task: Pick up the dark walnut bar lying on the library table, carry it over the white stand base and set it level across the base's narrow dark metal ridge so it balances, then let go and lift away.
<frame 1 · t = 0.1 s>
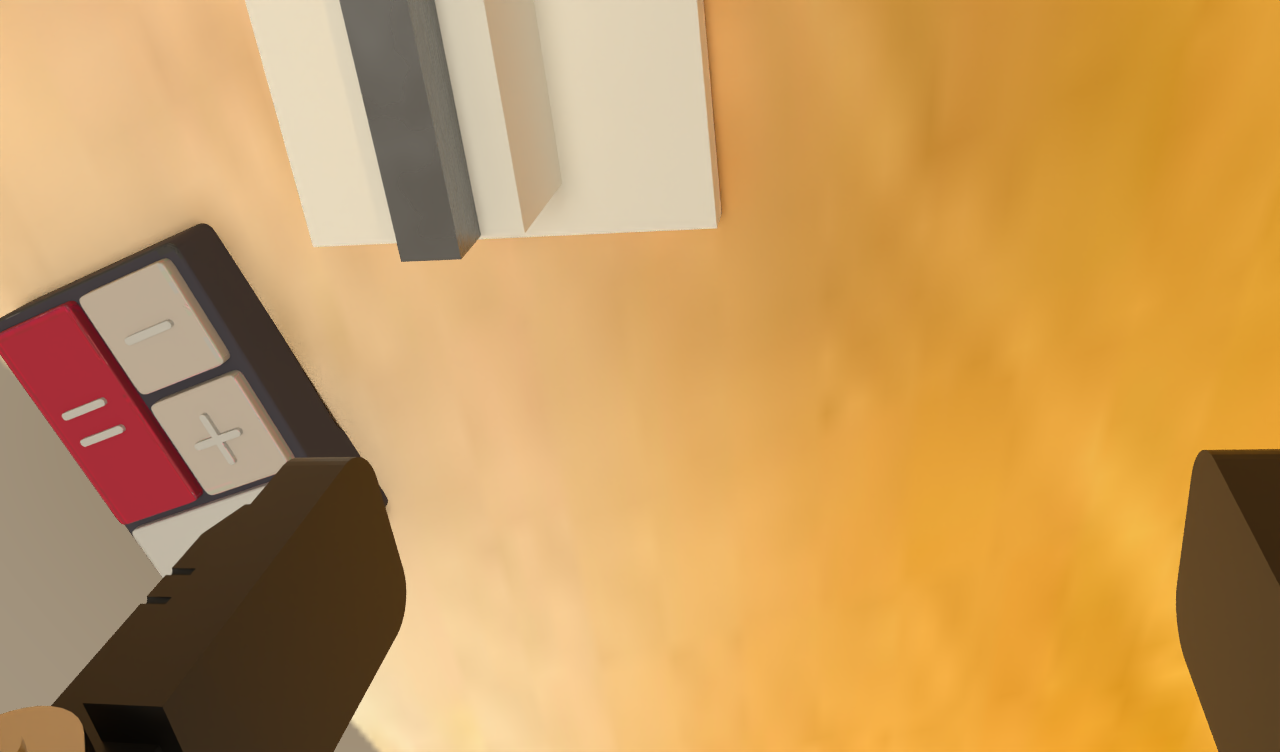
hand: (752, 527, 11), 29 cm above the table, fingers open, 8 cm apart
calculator: (217, 398, 49), on the table
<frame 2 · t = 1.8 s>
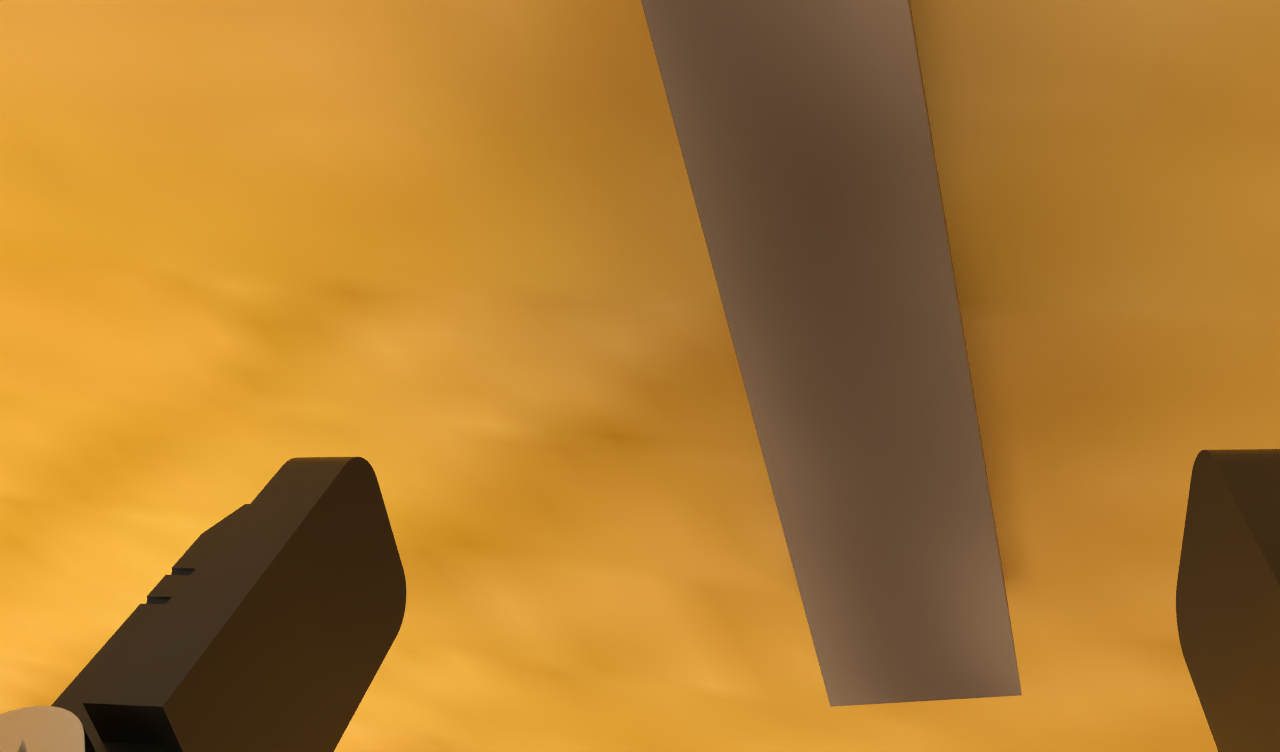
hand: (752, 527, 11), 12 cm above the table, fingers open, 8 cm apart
walnut bar: (830, 155, 22), on the table
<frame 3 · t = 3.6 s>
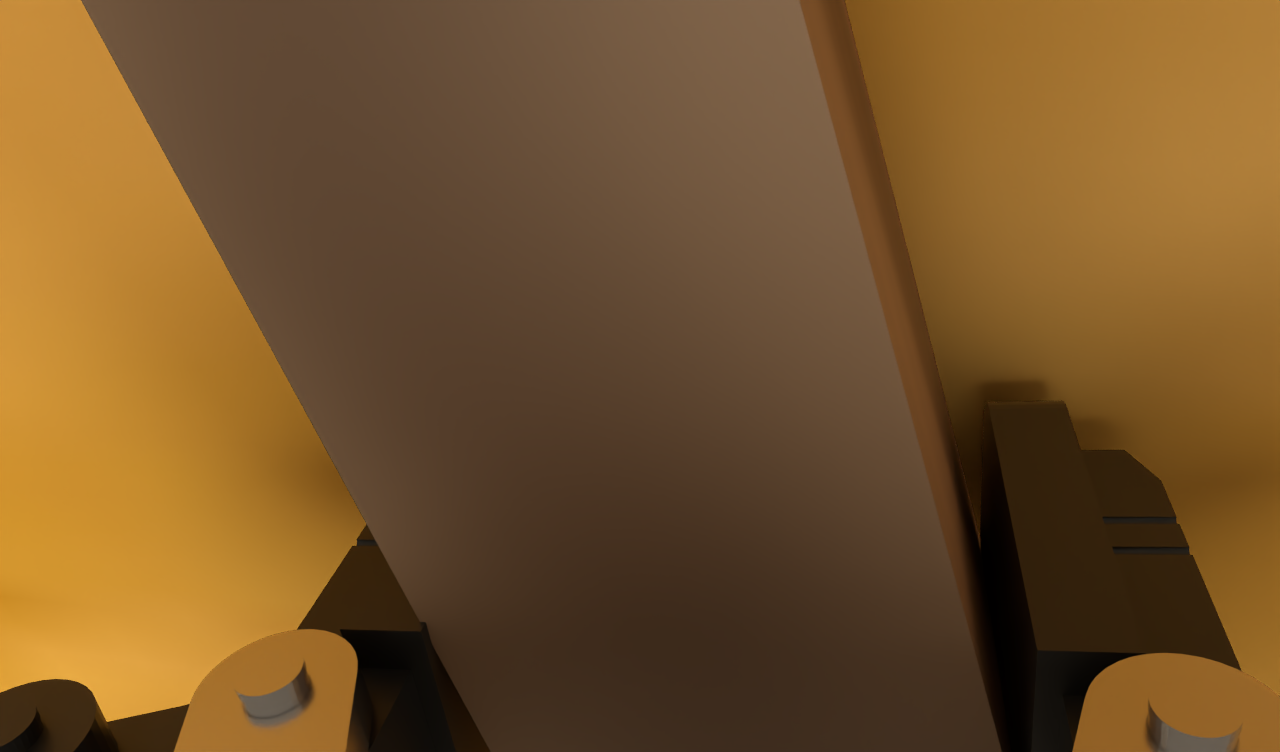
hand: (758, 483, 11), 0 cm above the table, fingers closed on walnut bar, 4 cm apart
walnut bar: (762, 448, 12), on the table, touching gripper
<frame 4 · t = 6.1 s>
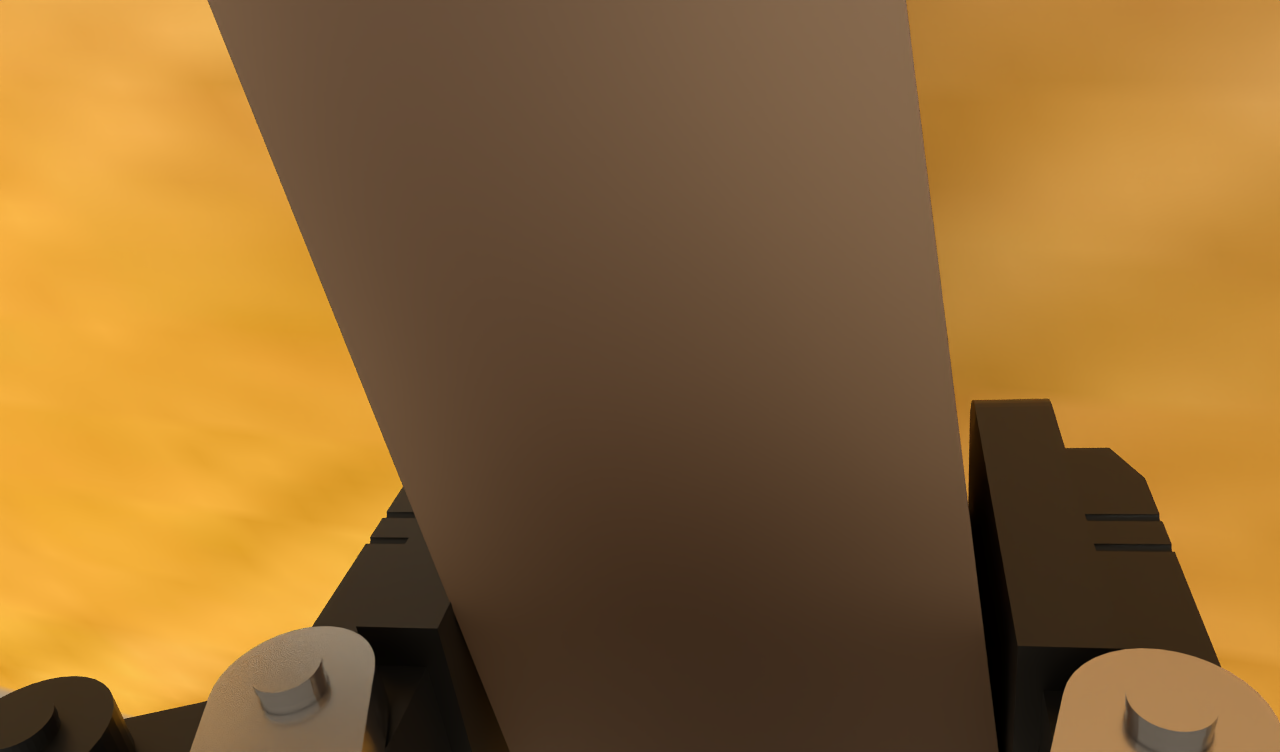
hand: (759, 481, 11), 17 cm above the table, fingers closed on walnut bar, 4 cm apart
walnut bar: (767, 441, 12), point 17 cm above the table, touching gripper
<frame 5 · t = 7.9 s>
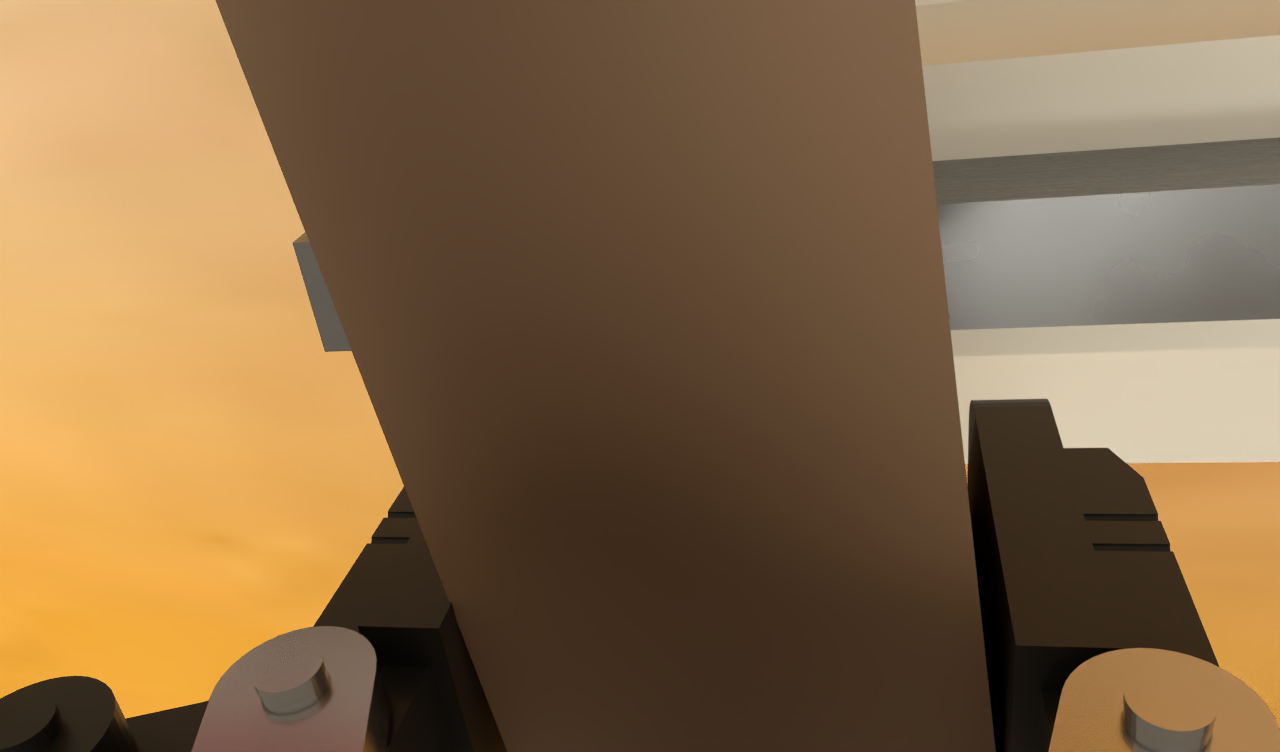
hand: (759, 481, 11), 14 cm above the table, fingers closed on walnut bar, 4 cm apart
white stand base: (813, 121, 23), on the table
walnut bar: (766, 442, 12), point 13 cm above the table, touching gripper
when the fingers open (10 cm above the table, at t = 9.0 s): walnut bar stays where it is, resting on white stand base.
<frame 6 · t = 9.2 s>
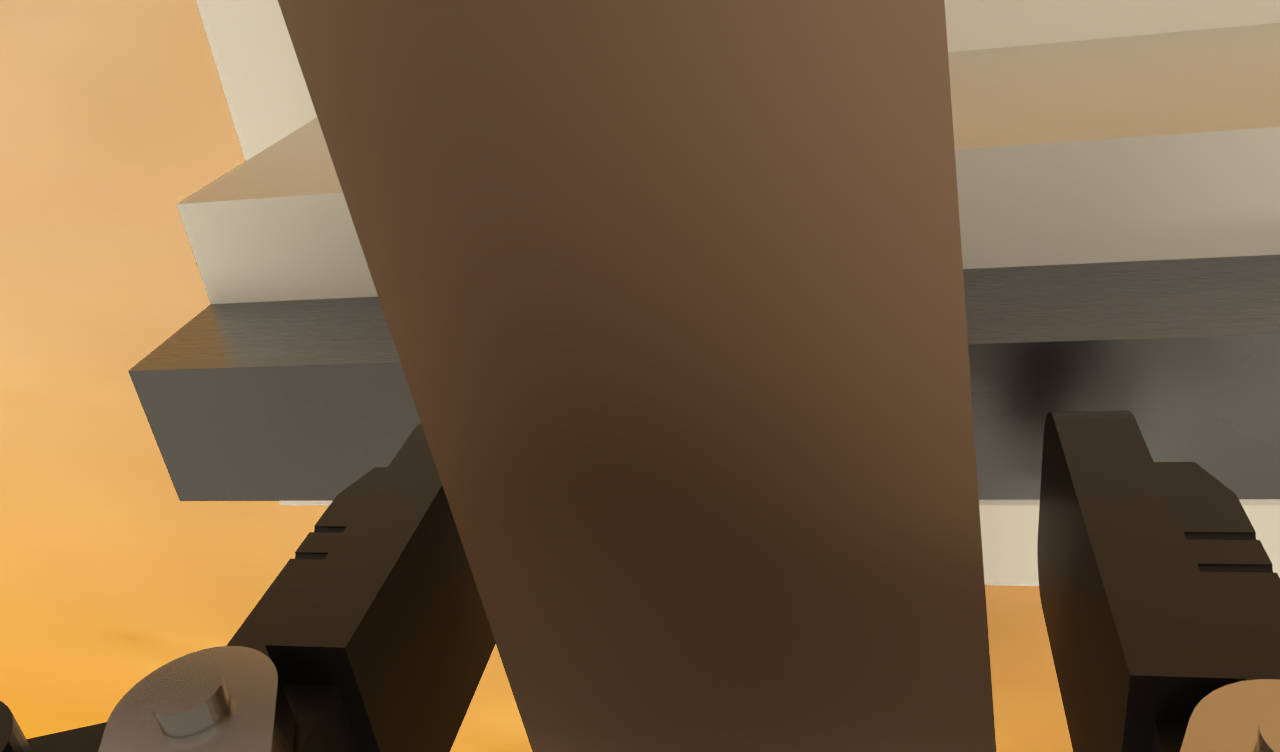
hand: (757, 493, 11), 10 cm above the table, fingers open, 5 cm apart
white stand base: (802, 185, 20), on the table
walnut bar: (772, 428, 12), point 8 cm above the table, touching white stand base
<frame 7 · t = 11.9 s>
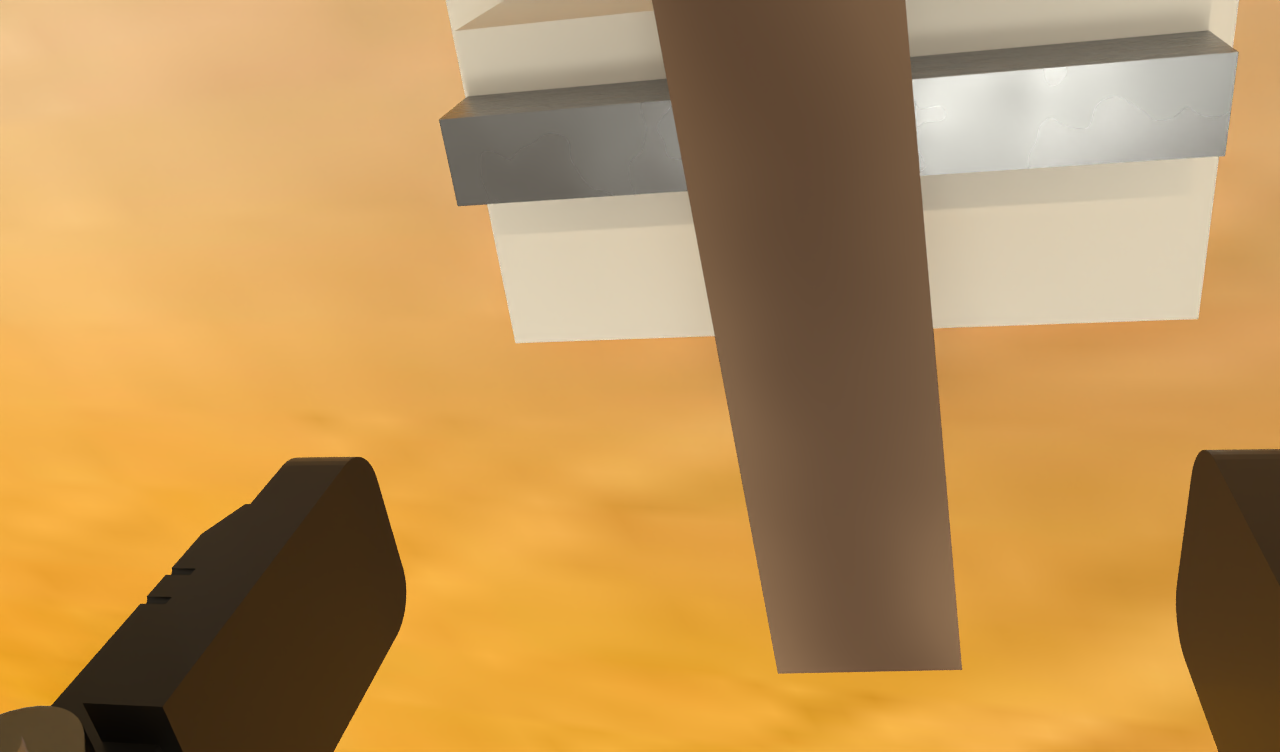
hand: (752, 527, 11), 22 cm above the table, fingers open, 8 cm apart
white stand base: (822, 48, 29), on the table
walnut bar: (812, 136, 22), point 8 cm above the table, touching white stand base
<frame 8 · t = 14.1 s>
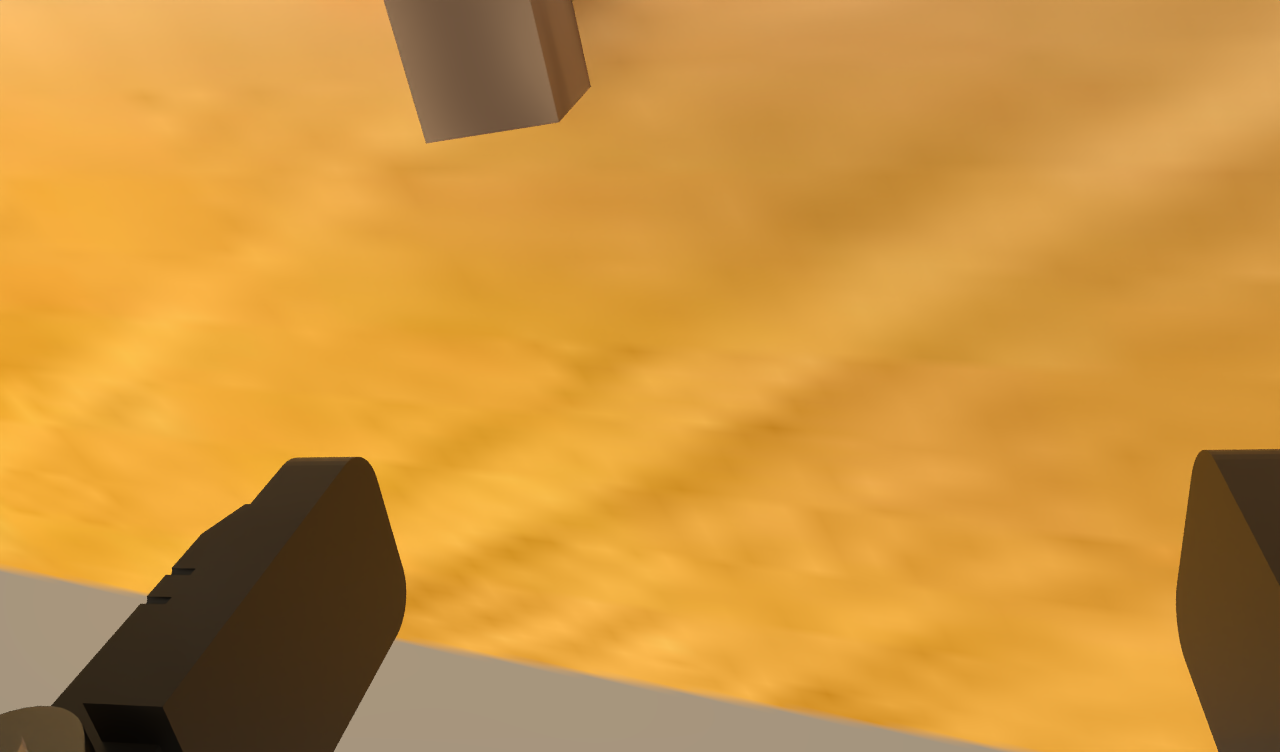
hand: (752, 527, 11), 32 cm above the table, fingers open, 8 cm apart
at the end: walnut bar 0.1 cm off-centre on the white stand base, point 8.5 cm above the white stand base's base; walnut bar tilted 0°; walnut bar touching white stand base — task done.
